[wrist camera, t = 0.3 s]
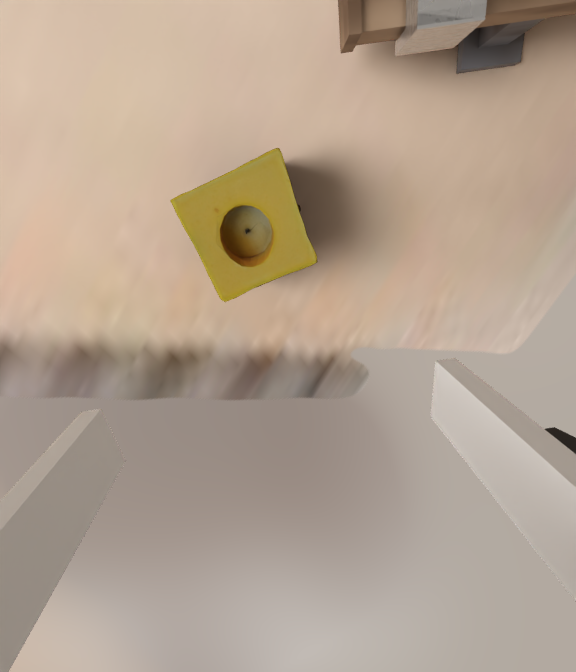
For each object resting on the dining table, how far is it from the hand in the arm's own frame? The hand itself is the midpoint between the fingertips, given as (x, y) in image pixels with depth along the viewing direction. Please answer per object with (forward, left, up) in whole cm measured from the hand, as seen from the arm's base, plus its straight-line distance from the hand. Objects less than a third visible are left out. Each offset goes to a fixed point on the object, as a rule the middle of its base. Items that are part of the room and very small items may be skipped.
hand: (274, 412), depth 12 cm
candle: (-6, -1, -28) cm, 28 cm away
